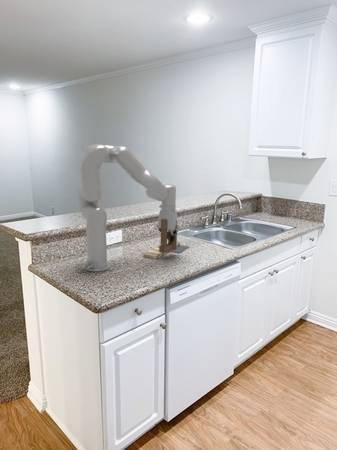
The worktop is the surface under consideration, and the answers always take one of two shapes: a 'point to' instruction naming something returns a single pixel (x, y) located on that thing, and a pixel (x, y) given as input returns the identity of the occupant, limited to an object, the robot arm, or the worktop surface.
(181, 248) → the end mark
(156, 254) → the wooden slatted rack
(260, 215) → the worktop surface
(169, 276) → the worktop surface
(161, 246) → the wooden block
